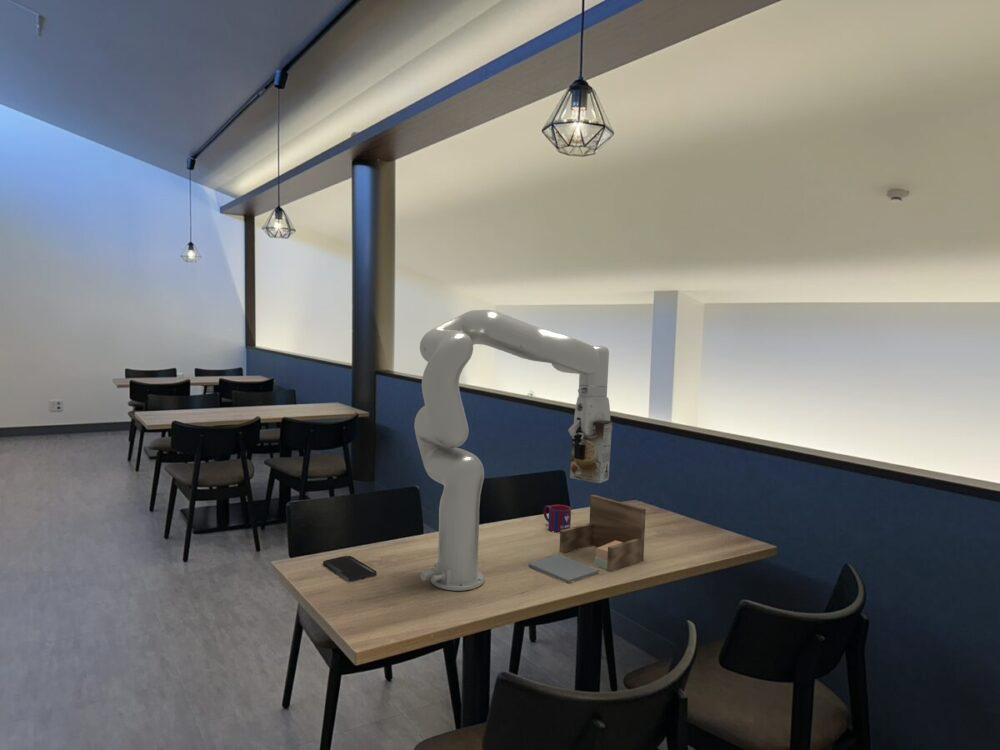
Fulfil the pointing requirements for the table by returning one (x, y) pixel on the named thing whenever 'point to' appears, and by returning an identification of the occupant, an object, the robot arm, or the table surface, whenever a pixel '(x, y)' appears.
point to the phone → (349, 568)
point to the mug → (558, 517)
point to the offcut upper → (605, 550)
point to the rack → (610, 532)
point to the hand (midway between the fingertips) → (589, 457)
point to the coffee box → (594, 454)
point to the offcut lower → (601, 563)
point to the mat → (563, 568)
